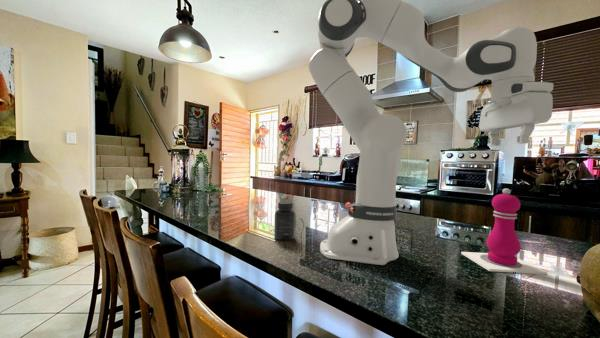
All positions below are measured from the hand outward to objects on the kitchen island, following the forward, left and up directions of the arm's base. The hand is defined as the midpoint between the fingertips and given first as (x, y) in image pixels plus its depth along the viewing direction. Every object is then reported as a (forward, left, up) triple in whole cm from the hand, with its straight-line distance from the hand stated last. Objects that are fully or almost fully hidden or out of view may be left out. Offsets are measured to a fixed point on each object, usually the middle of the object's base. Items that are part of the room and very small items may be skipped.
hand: (508, 144), depth 68 cm
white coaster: (0, 0, -33) cm, 33 cm away
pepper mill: (0, 0, -32) cm, 32 cm away
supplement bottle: (-61, +12, -33) cm, 70 cm away
